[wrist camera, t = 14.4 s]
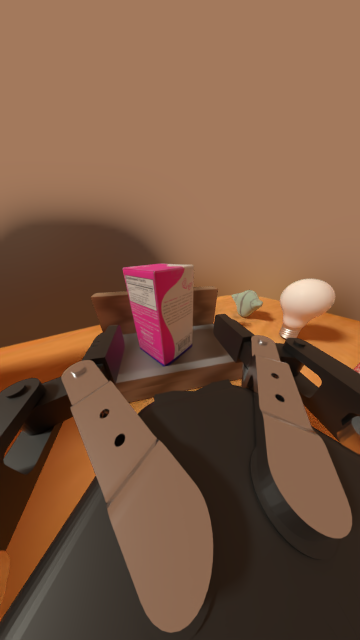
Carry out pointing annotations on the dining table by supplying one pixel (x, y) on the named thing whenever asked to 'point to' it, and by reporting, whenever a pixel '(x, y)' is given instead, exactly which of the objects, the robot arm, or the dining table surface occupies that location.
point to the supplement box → (162, 308)
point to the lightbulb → (304, 304)
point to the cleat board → (185, 372)
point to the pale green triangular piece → (247, 302)
